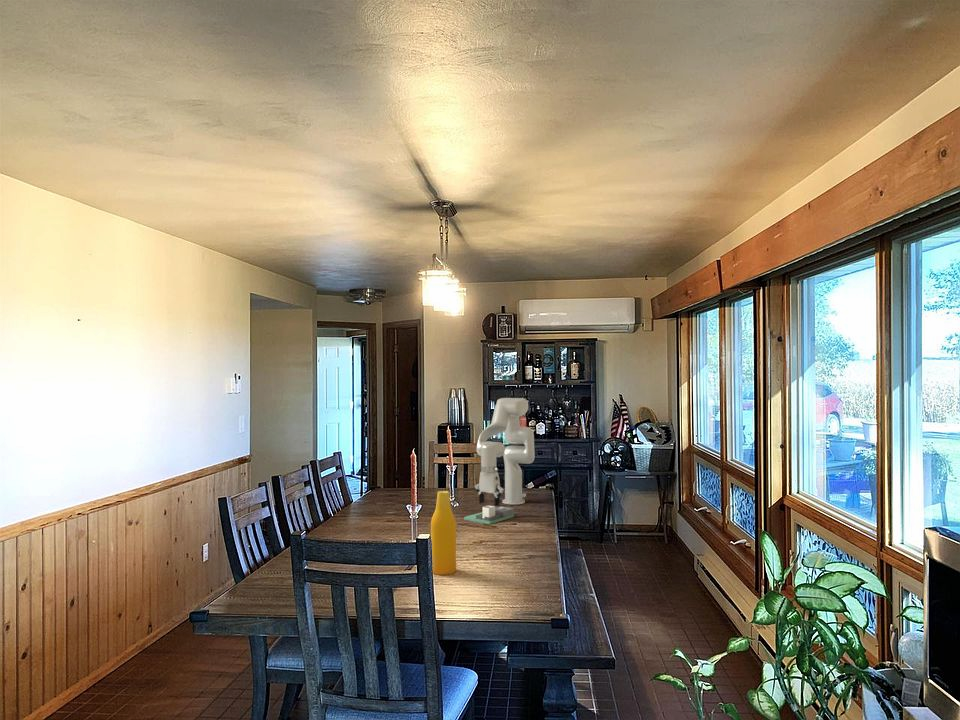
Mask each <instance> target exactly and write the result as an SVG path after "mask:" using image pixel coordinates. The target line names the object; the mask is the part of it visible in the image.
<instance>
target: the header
mask: <svg viewBox="0 0 960 720" xmlns="http://www.w3.org/2000/svg"><path fill="white" fill-rule="evenodd" d="M499 518H502V514H497V513H495V516H492V517H483V514H479V515H476V519H481V520H482V519H484V520H486V521H492V520H495V519H499Z"/></svg>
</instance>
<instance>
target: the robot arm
mask: <svg viewBox="0 0 960 720" xmlns="http://www.w3.org/2000/svg"><path fill="white" fill-rule="evenodd" d="M528 410H529V403H528V400H527V399H526V398H523V397H501V398H499V399H497V401H496V404H495V406H494V410H493V414H492V419H491V423H490V424H489V425H487V427H485V428H484V429H483V430H482V431H481V432H480V433H479V436H478V440H477V443H476V448H475V449H476V453H477V456H479V457H480V462H481V463H480V467H481V468H480V469H481V471H480V473H479V480H478V481H479V482H478V483H477V484H474V488H475V489H476V490H475V491H476V493H477V496H478V502H479V503H478V504H482V503H485V494H484V493H488V494H493V496H494V506H495V507H498V506H500V505H501V504H500V501H501V500H500V499H501V497H502V495H503V493H504V499H502V502H501V503H502V504H504V505H513V506H514V505H524V504H525V502H526V501H525V499H524V498H525V497H527V494H526V493H523V472H522V471H523V469H522V468H521V466H520V465H519V464H527V465H528V464H529V465H530V464H532V463H533V462H534V461H535V454H536V453H535V434H534V430H533V429H532V428H531V427H528V426H521V422H520V418H521V417H522V416H524V415H525V414H526V413H528ZM502 433H504V437H505V442H506V443H508V444H510V445H508V446H505V444H504V443H502V442H501V441H488V439H490V438H492V437H494V436H496V435H497V436H498V434H502ZM511 444H512V445H511ZM514 444H515V445H514ZM501 457H503V463H504V488H503V487H501V483H500V482H501V481H500V476H499V472H498V471H499V468H498V467H497V458H501Z"/></svg>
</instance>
